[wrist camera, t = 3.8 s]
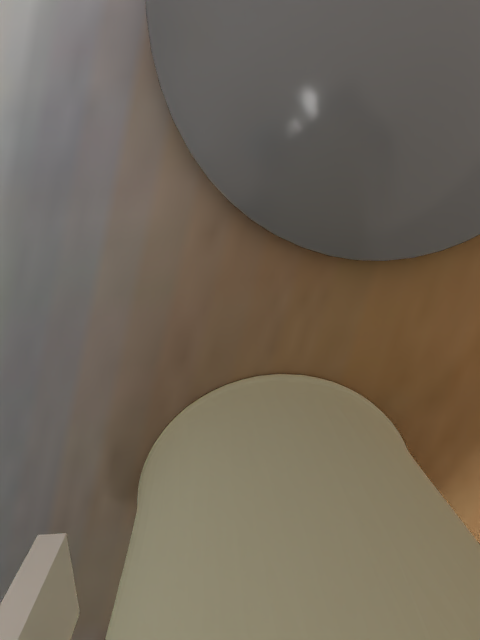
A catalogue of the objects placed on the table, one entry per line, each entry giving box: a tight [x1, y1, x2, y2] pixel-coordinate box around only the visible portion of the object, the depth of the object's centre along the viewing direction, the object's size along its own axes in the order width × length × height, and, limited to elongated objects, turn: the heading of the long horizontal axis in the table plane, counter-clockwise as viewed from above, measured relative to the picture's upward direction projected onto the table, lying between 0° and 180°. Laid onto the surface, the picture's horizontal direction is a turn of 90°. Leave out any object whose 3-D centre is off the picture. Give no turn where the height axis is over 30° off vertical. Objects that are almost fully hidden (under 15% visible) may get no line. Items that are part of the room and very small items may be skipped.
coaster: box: [146, 0, 480, 261], centre depth 10 cm, size 12×12×1 cm
